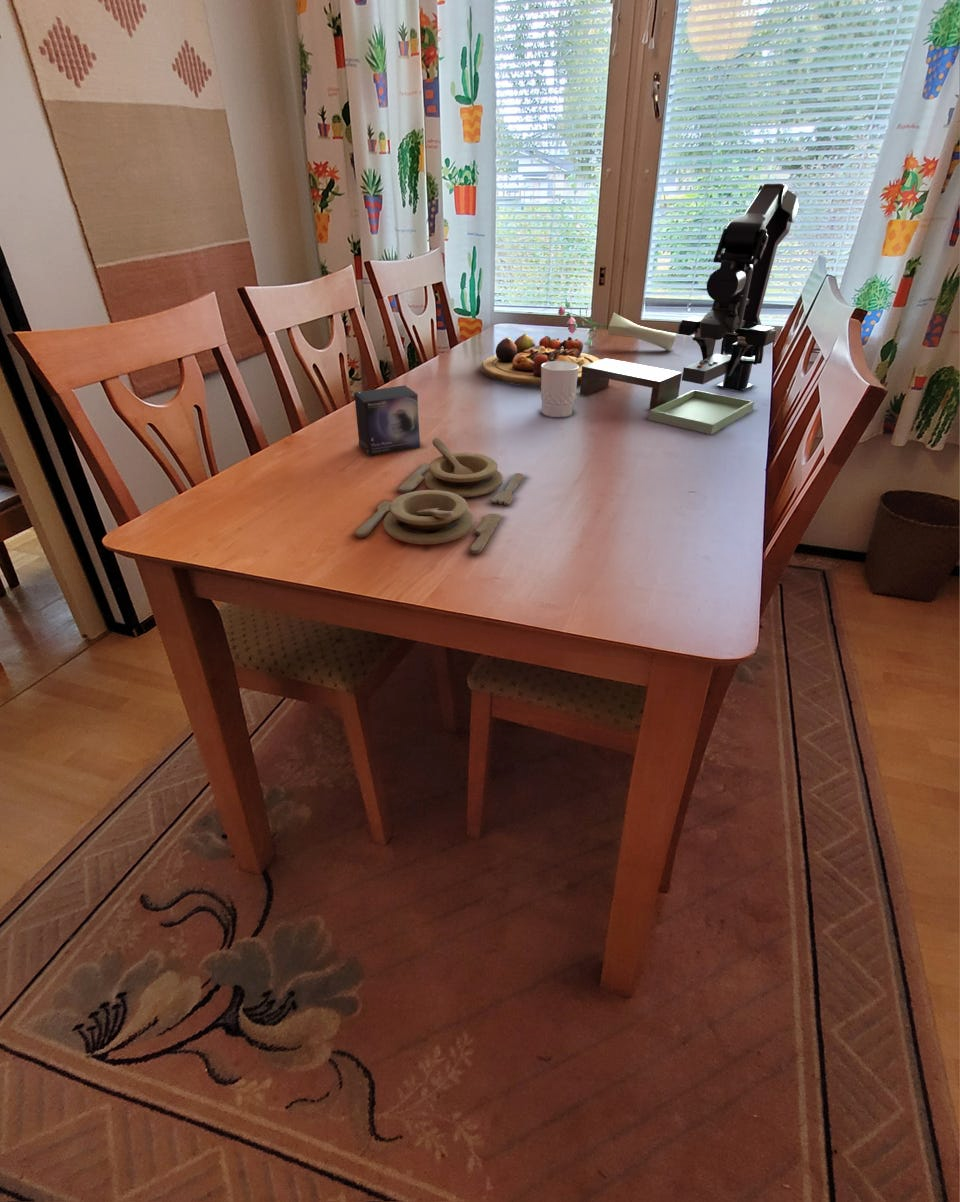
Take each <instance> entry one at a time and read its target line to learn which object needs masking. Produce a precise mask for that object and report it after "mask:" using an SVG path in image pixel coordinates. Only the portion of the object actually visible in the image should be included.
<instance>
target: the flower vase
mask: <svg viewBox="0 0 960 1202" xmlns="http://www.w3.org/2000/svg"><path fill="white" fill-rule="evenodd" d="M564 305H565V307H563V305H561V306H560V307H559V309H558V310H557V311H558V315H559V317H560V318H561V317H562V316H566V318H567V319H568V318H569V319H568V320H567V322H566V325H567V330H568V332H569V333H571V335H574V334H575V332H576V331H577V327H578V326H591V328H590V330H589V331H588V332H587V335H590V333H592V332H594V333H593V335H592V336H589V337H588V339H587V340H586V344H588V342H590V347H591V348H592V346H593V345H592V344H593V343H592V342H593V339H594V337H595V336H597V335H601V334H602V333H603V332H604V330H606V329H607V332H606V335H607V336H616V337H625V338H633V339H637V340H639V341H643V342H645V343H649V344H652V345H653V346H657V347H659V348H661V349H662V350H663V349H664V350H665V351H668V352H671V351H672V348H673V345H674V343H675V340H676V337H677V333H676V332H669V331H664V330H659V329H654V328H650V327H646V326H642V325H638V324H637V323H634V322H633V321H631V320H629V319H627V318H624V317H623V316H621V315H619V314H617V313H615V312H613V314H612V316H611V319H610V322H609V325H601V324H598V322H597V321H595V319H594V318H592V316H590V320H589V319H588V318H584V317H583V316H582V312H581V310H582V309H581V308H579V315H578V314H575V313H572V312H568V311H566V308H567V309H568V308H569V309H570V310H572V307H571V303H569V302H568V300H567V299H565V302H564ZM588 308H589V307H587V308H586V310H585V315H586V317H588ZM571 315H573V316H575V317H573V316H571ZM576 317H577V318H578V317H579V318H580V319H583V320H585V321H586V323H585V322H584V321H581V322H582V323H577V322H576V320H577V319H576ZM593 321H595V322H593ZM592 326H593V327H592ZM596 327H598V329H600V328H604V329H603V330H601V331H602V332H601V333H596V332H597V330H596ZM595 333H596V334H595Z"/></svg>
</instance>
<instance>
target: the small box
mask: <svg viewBox="0 0 960 1202" xmlns="http://www.w3.org/2000/svg"><path fill="white" fill-rule="evenodd" d="M353 395H354V403H355V404H354V405H355V414H356V426H357V434H358V435H357V436H358V446H359V448H361V449H362V450H363V451H364V452H365V454H367V455H368V456H370V457H372V456H377V455H382V454H389V453H395V452H400V451H405V450H412V449H417V448H421V441H420V438H421V437H420V420H419V419H420V417H419V396H418V395H419V394H418V393H417V392H415V391H414V390H412V389H411V388H410V387H408V386H407V385H397V386H390V387H383V388H377V389H369V390H361V391H354V393H353Z"/></svg>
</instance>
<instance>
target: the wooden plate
mask: <svg viewBox="0 0 960 1202" xmlns="http://www.w3.org/2000/svg"><path fill="white" fill-rule="evenodd" d="M566 339H567V340H566ZM566 339H564V340H563V341H561V340H560V338H558V337H557V338H553V339H551V337H550V336H549V335H544V337H541V338H540V340H539V344H538V345H536V342H535V340H534V339H533V338H532V337H531V336H529V335H528V334H527V333H523V334H521V335H520V336H519V337H517V338H516V340H514V341H513V340H512V339H511V338H510V337H508V336H507V337H504V338H503V339H502V340H501V341H499V342H498V344H497V345H496V347H495V354H494V355H491V356H488V357H486V359H484V360H483V362H482V363H481V372H482V373H483V374H484V375H486V376H487V377H488V378H490V379H493V380H495V381H498V382H500V383H505V384H510V385H518V386H526V387H541V365H542V364H543V363H546V362H551V361H566V362H572V363H575V364H577V365H578V366H579V369H578V377H577V385H581V374H582V366H584V365H587V364H590V363H593V362H596V361H599V360H601V359H600V358H598V357H597V356H594V355H591V354H588V353H585V352H583V349H584V343H583V341H582V340H580V339H578V338H576V339H573V337H571V336H568V338H566ZM562 348H563V349H562Z"/></svg>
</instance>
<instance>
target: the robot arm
mask: <svg viewBox="0 0 960 1202" xmlns="http://www.w3.org/2000/svg"><path fill="white" fill-rule="evenodd" d="M798 199H799V198H798V195H796V194H794V192H792V191H790V190H789V189H788V186H787V184H784V183H782V182H781V183H778V182H777V183H776V182H775V183H774V182H773V183H772V182H770V183H766V182H765V183H764V184H760V185H759V187H758V190H757V194H755V198H754V199H753V201H752V202H751V204H750V205H749V206H748V208H747V210H746V211H745V212H744V214H741V215H738V216H735V217H734V218H732V219H731V220H730V222H728V223H727V225H726V227H724V228H723V230H722V234H721V236H720V239H719V243H718V245H717V248H716V250H715V254H714V257H713V260H712V261H713V263H719V264H720V267H719V268H718V269H716V270H714V271H713V272H712V273H711V274H710V276H709V277H708V279H707V281H706V292H707V295H708V296H709V297H710V299H712V300H713V303H712V307H711V309H710V310H709V311H708V312H707V313H706V314H704V316H703V317H701V316H700V317H698V316H690V317H687V318H684V319H682V320H681V321H680V322H679V324H678V327H677V334H678V335H682V336H689V337H691V336H693V334H694V336H693V337H692V339H691V340H692V341H694V342H696V343H697V345H698V346H699V348H700V352H701V357H702V360H703V359H705V358H707V357H710V356H712V355H714V352H715V346H716V341H720V340H722V341H721V345H720V346H721V347H720V354H722V355H728V356H731V358H730V362H729V366H728V371H727V373H726V374H724V375H723V380H722V382H720V383H717V385H716V387H717V388H721V389H725V390H726V389H727V390H731V391H736V392H740V393H741V392H744V391H746V390H749V389H750V388H752V387H754V383H749V381H750V377H751V372H752V368H753V365H754V366H757V365H759V364H760V365H761V364H762V363H763V359H764V353H765V352H764V351H765V347H766V346H768V345H771V344H773V343H775V340H776V335H777V330H776V328H775V327H774V326H767V325H762V321H761V318H760V316H761V311H762V307H763V303H764V300H765V296H766V291H767V287H768V285H769V284H768V283H769V280H770V277H771V273H772V269H773V264H774V261H775V257H776V253H777V249H778V245H780V243H781V242H782V241H783V240H784V239H785V238H786V237H787V235H788V234H789V233H790V230H791V227H792V224H793V223H794V222H795V221H796V218H797V214H798V211H799V201H798Z"/></svg>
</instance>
